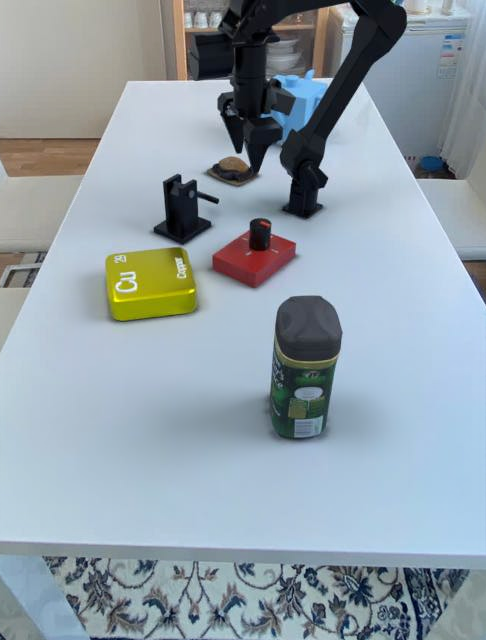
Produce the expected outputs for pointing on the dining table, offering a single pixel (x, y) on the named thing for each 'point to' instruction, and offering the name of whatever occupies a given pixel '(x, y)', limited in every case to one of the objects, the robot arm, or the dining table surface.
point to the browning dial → (259, 234)
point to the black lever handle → (200, 194)
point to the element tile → (150, 283)
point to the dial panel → (253, 259)
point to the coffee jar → (303, 365)
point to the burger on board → (232, 171)
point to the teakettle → (299, 101)
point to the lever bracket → (181, 212)
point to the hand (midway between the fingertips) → (247, 162)
